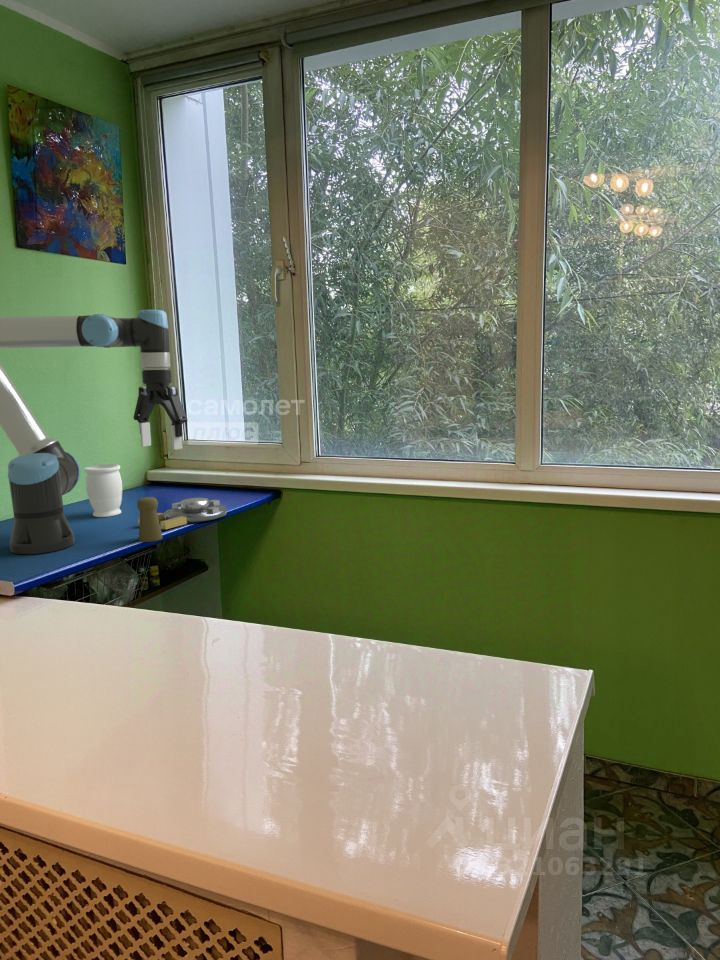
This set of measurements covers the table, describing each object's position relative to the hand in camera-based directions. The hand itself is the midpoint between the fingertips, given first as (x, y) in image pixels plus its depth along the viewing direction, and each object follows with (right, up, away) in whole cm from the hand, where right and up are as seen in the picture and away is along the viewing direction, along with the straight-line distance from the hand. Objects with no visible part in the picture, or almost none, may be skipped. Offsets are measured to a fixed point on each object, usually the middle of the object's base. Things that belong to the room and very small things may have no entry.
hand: (161, 447), depth 193 cm
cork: (-1, -24, -8) cm, 26 cm away
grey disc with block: (+4, -20, +13) cm, 24 cm away
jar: (-24, -20, +24) cm, 39 cm away
